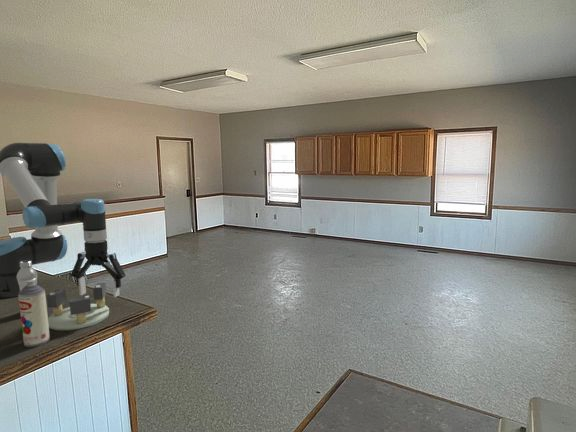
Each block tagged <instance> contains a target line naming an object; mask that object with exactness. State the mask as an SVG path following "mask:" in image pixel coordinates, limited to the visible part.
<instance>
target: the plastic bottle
mask: <svg viewBox="0 0 576 432" xmlns="http://www.w3.org/2000/svg"><path fill="white" fill-rule="evenodd" d="M20 267H21V269H20V270H19V272H18V274H17V281H18V284H19V288H20V291H21V290H22V289H23V288H24V287H25V286H26V285H27V281H30V280H34V283H35V284H37V285H38V272H37V270H36V269H35V268H34V267H33V265H32V261H31V260H24V261H21V262H20Z"/></svg>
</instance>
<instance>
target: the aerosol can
mask: <svg viewBox="0 0 576 432" xmlns="http://www.w3.org/2000/svg"><path fill="white" fill-rule="evenodd" d="M17 297H18V304H19V305H18V306H19V312H20V322H21V323H20V324H21V330H22V331H21V333H22V340H23V346H24V347H26V348H34V347H40V346H43V345H44V344H47V343H48V342H49V341H50V340H51V335H50V328H49V324H48V317H49V316H48V304H47V295H46V291H45V288H44V287H42V286H41V285H38V283H37V284H35V283H34V280H30V281H27V285H26V286H25V287H24V288H23V289H22V290H21V291H20V292H19V295H18V296H17Z"/></svg>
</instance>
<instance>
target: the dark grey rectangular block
mask: <svg viewBox="0 0 576 432" xmlns="http://www.w3.org/2000/svg"><path fill="white" fill-rule="evenodd" d="M65 302H67V292H66V289H65V288H63V289H61V288H60V289H55V290H53V291H52V292H50V293H48V294H47V295H46V303H47V309H48V308H52V310H53V313H54V316H60V315H62V314H63V309H64V308H63V304H64V303H65Z"/></svg>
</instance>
